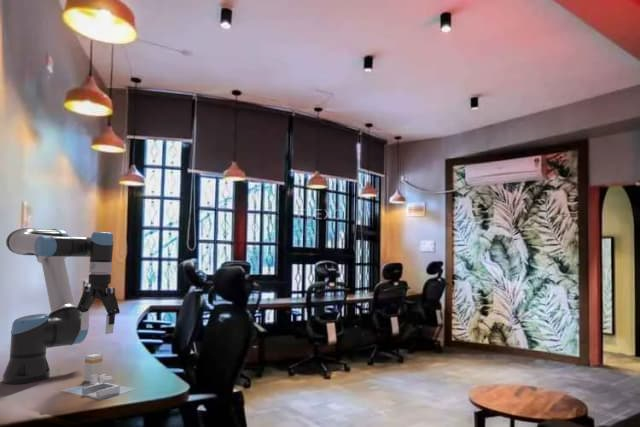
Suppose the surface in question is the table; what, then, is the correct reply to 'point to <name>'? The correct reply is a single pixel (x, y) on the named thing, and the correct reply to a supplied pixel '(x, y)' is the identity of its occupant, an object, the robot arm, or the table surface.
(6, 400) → the table surface
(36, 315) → the robot arm
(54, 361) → the table surface
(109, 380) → the clip
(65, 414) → the table surface
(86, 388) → the end holder
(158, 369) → the table surface
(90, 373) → the white bottle
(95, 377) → the clip
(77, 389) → the board
